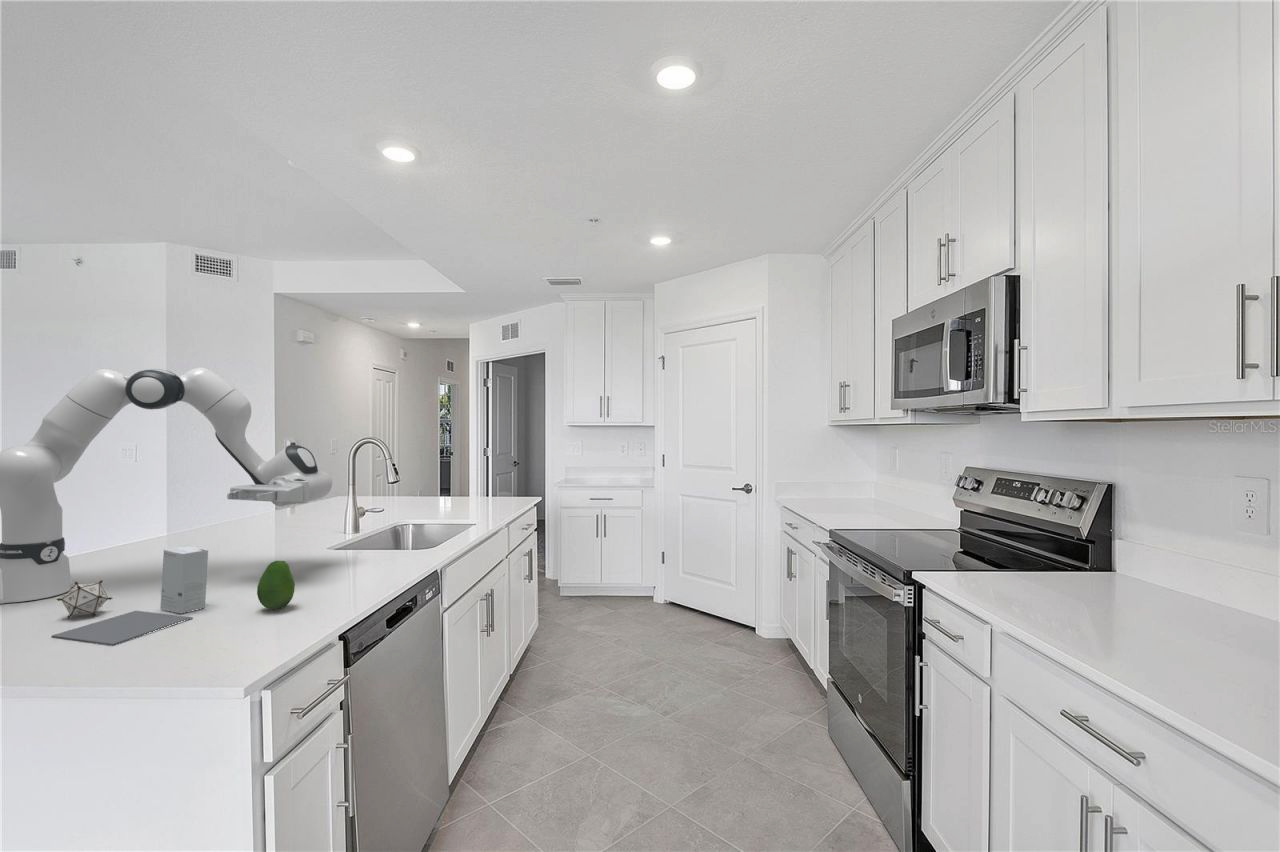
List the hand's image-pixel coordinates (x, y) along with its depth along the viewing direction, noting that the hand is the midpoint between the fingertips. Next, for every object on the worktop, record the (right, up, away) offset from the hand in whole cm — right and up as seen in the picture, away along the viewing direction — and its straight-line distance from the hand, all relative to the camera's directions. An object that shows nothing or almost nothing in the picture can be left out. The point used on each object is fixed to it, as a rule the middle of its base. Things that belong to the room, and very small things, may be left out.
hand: (242, 497), depth 161 cm
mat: (-7, -26, -28) cm, 39 cm away
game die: (-23, -26, -21) cm, 40 cm away
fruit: (+18, -26, -14) cm, 35 cm away
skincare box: (-4, -26, -15) cm, 30 cm away
